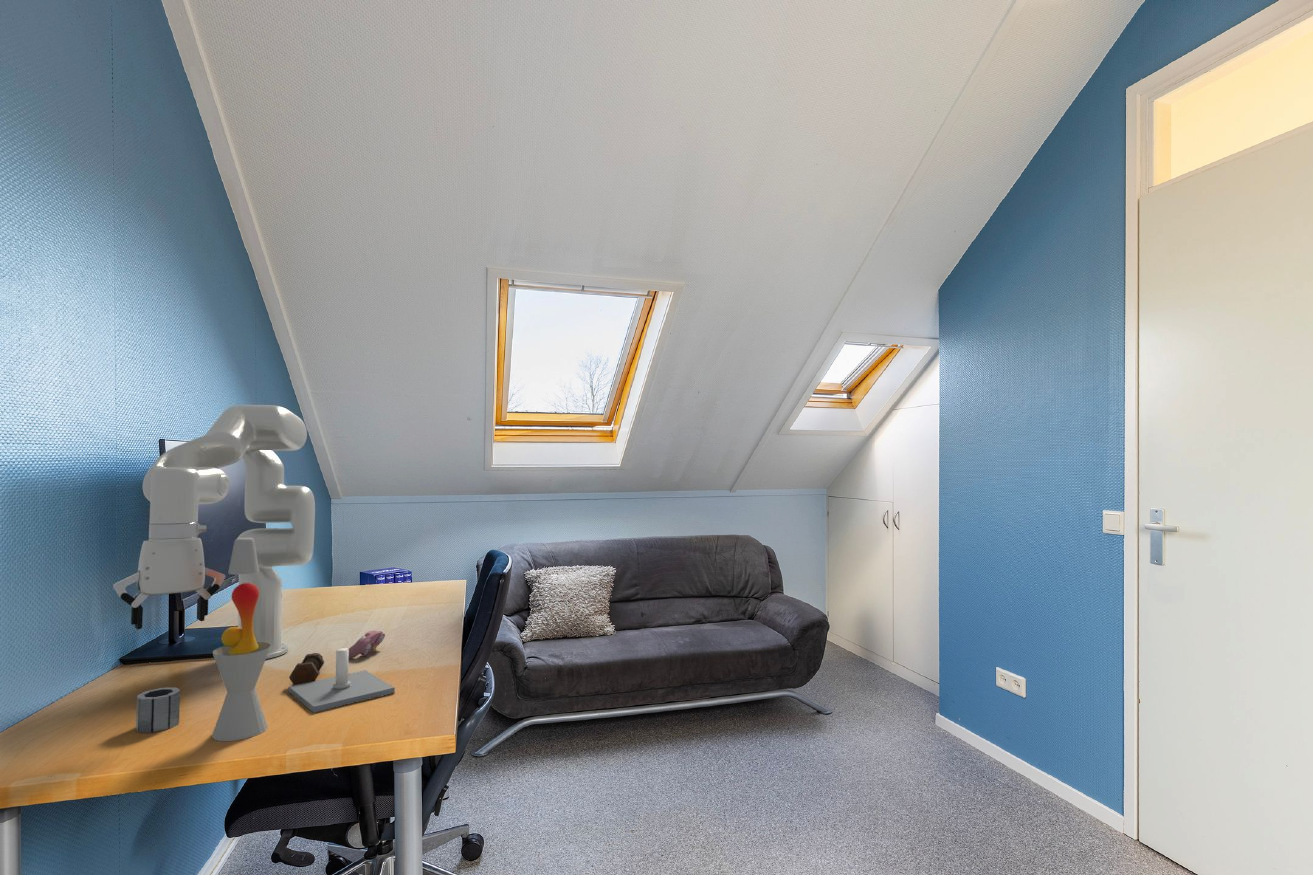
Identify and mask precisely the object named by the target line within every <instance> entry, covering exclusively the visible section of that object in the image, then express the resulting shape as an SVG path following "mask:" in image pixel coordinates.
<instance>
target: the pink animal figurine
mask: <svg viewBox="0 0 1313 875" xmlns="http://www.w3.org/2000/svg"><path fill="white" fill-rule="evenodd" d="M385 637H386V633H384V632H383V631H380V630H378V629H375V630H369V631H367V632H366V633H364V635H362V636H361V637H360V638H359V639H358V640H357V641H356V642H355V643H354V644H353V645H352V646H350V647H349V648H348V649H349V656H348V660H349V659H353V658H357V656H359V655H361V656H362V657H365V656H367V655H368V654H369V653H374V651H376V649H377V647H378V646H379V645H380V644H381V643H382V642H383V641H384V639H385Z"/></svg>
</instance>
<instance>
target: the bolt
mask: <svg viewBox="0 0 1313 875" xmlns="http://www.w3.org/2000/svg"><path fill="white" fill-rule="evenodd" d="M323 658H324V657H323V656H322V654H320V653H319V652H313V653H307V654H306V655H305V656H304V657H303V660H302V661H301V662H297V664H296V665H295V667H294V668H293V669H292V672H291V673H290V675H289V680H290V682H291V683H292V686H294V685H298V684H303V683H308V682H312V681H317V678H318V677H319V675H320V670H321V669H322V667H323V665H324V664H325V660H324V659H323Z"/></svg>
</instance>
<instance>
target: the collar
mask: <svg viewBox="0 0 1313 875" xmlns="http://www.w3.org/2000/svg"><path fill="white" fill-rule="evenodd" d="M180 695H181V691H180V689H179V688H178V687H160V688H155V689H149V690H146V691H143V692H141V693H139V694H137V695H136V715H135V716H136V718H135V719H136V720H135V722H136V723H135V725H136V726H135V729H136V732H137V733H141V734H143V733H144V734H145V733H146V734H147V733H148V734H150V733H157V732H162V731H165V730H169V729H172V728H174V727H176V726H177V725H180V724H179V723H180V698H181V696H180Z"/></svg>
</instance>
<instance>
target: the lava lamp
mask: <svg viewBox="0 0 1313 875" xmlns="http://www.w3.org/2000/svg"><path fill="white" fill-rule="evenodd" d="M237 538H238V537H237ZM237 538H236V539H235V540H234V542H233V547H232V552H231V553H232V554H231V557H230V562H229V567H228V574H229V575H239V574H251V573H256V572H259V567H258V561H257V554H256V548H255V542H254V539H253V538H238V539H237ZM258 597H259V590H258V588H257V587H256V586H255V585H253V584H251V583H243V584H240V585H239V584H238V585H237V586H236V587H235V588H234V589H233V590H232V592H231V601H232V602H233V605H234V607H235V608H236V610H237V612H238V613H239V615H240V618H241V626H242V629H241V628H239V627H238V626H231V627H230V626H229V627H228V628H226V629H225V630H224V631H223V632H222V634H221V642H222V643H223V646H220V647H217V648H215V649H214V650H213V651H212V656H213V658H214V661H215V663H216V666H217V669H218V671H219V674H220V676H221V678H222V682H223V685H224V686H225V689H226V691H227V692H226V695H225V697H224V701H223V704H222V706H221V708H220V712H219V715H218V718H217V720H216V723H215V726H214V728H213V732H212V735H211V738H212V739H213V738H214V739H213V740H214V741H218V742H234V741H235V742H236V741H240V740H241V741H242V740H245V739H250V738H252V737H255V736H258V735H260V734H262V733H263V732H265V731H266V730H267V729H268V727H269V726H268V724H267V720H266V716H265V715H264V711H263V708H262V705H261V702H260V699H259V696H258V693H257V690H256V685H257V683H258V680H259V677H260V675H261V673H262V670H263V668H264V664H265V662H266V660H267V659H266V657H267V655H268V652H269V649H270V644H269V643H266V642H256V639H255V636H254V630H253V615H254V610H255V606H256V603H257V600H258Z"/></svg>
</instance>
